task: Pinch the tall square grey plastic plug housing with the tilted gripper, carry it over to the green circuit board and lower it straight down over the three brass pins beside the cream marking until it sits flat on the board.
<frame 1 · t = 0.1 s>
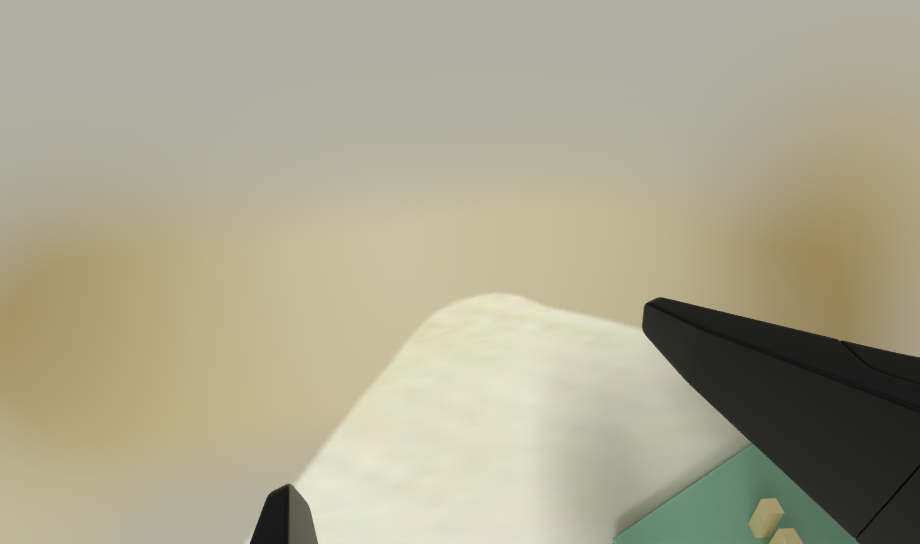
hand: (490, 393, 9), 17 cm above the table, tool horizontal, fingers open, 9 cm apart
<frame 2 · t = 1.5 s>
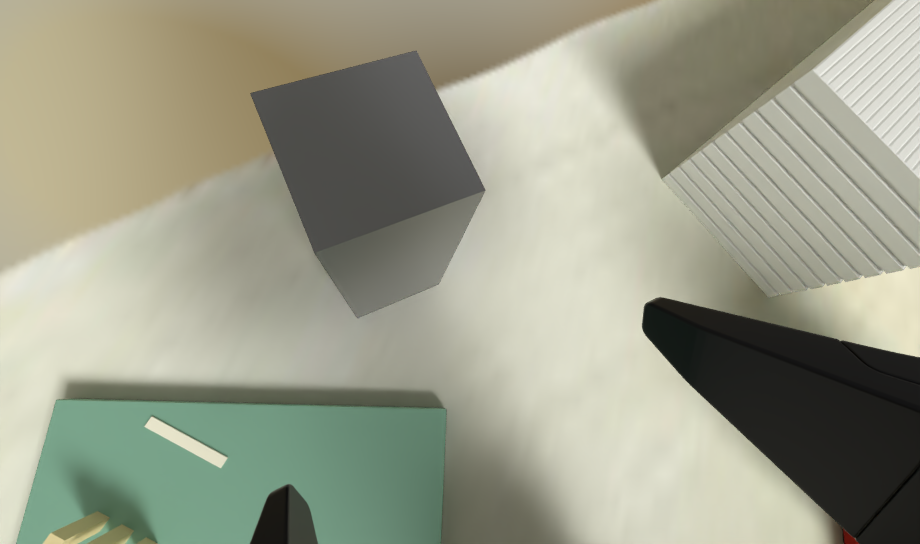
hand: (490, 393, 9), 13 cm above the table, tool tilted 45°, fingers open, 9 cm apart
plug housing: (382, 261, 23), on the table
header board: (252, 524, 19), on the table
stack of papers: (825, 127, 32), on the table
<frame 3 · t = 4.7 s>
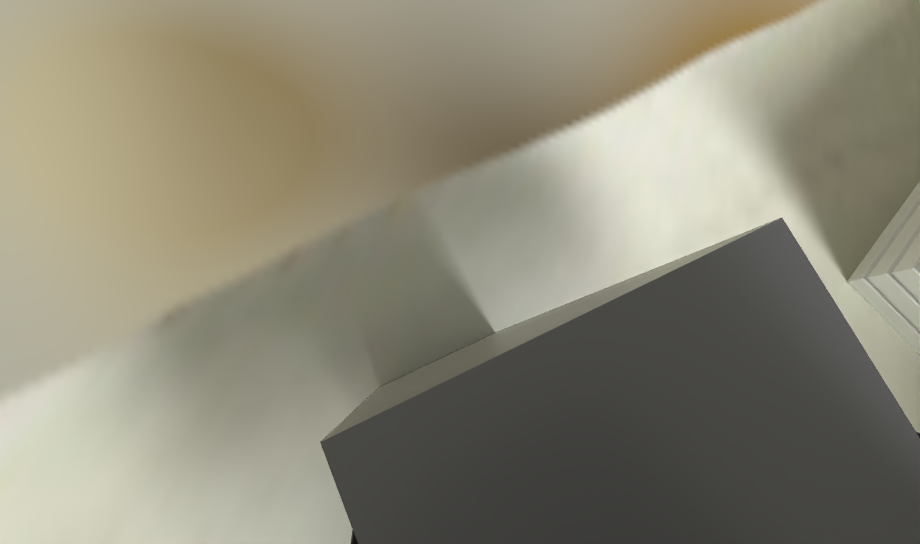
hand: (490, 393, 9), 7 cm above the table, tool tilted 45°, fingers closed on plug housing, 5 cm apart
plug housing: (466, 419, 15), on the table, touching gripper
when the fingers open (9 cm above the table, at t = 12.5 s): plug housing stays where it is, resting on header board.
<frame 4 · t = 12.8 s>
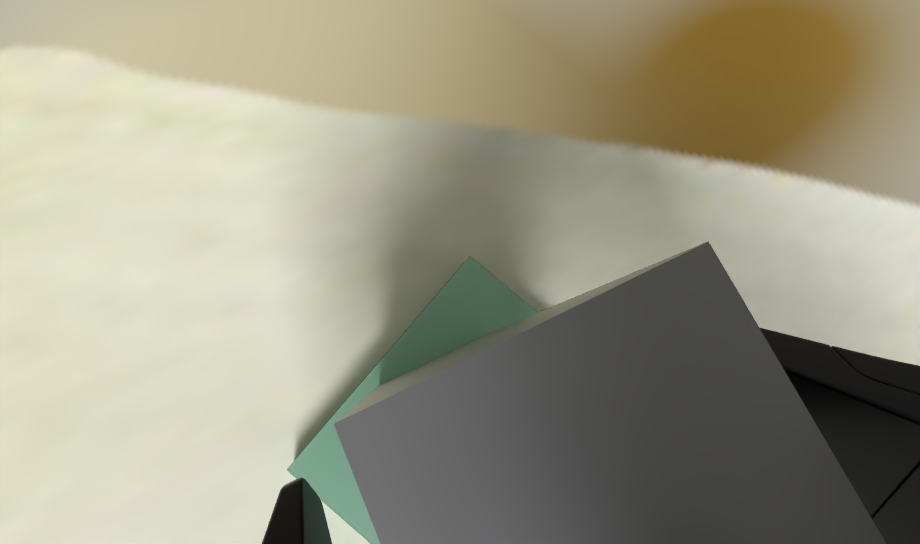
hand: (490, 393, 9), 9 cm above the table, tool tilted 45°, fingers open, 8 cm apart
plug housing: (461, 415, 16), point 1 cm above the table, touching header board
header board: (548, 491, 17), on the table
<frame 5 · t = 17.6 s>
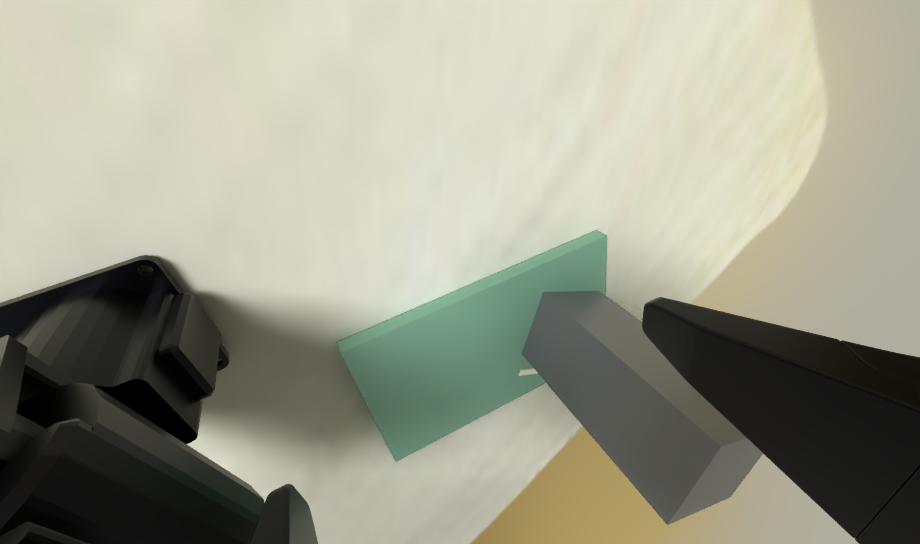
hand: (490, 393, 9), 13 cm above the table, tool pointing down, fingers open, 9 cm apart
plug housing: (560, 322, 28), point 1 cm above the table, touching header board
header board: (490, 343, 28), on the table
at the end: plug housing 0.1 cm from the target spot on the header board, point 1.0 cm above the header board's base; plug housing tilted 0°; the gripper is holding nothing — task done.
